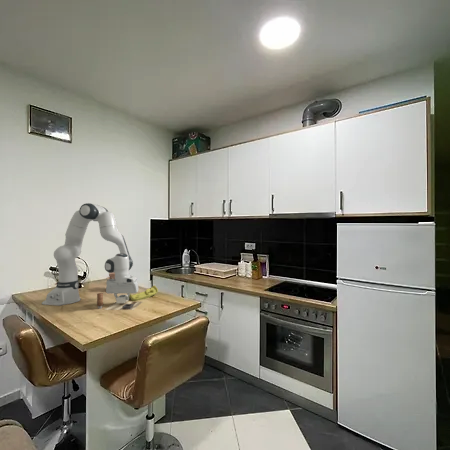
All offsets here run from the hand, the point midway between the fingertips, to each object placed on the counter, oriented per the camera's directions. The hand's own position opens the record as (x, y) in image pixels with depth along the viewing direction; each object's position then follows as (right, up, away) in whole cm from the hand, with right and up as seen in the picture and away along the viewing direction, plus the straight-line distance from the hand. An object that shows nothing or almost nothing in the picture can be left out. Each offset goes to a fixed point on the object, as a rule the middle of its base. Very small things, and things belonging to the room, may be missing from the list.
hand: (122, 300), depth 161 cm
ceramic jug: (-20, -4, +39) cm, 44 cm away
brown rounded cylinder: (-10, -4, -9) cm, 14 cm away
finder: (0, -1, 0) cm, 1 cm away
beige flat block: (+3, -3, -4) cm, 6 cm away
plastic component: (+9, -4, +15) cm, 18 cm away
